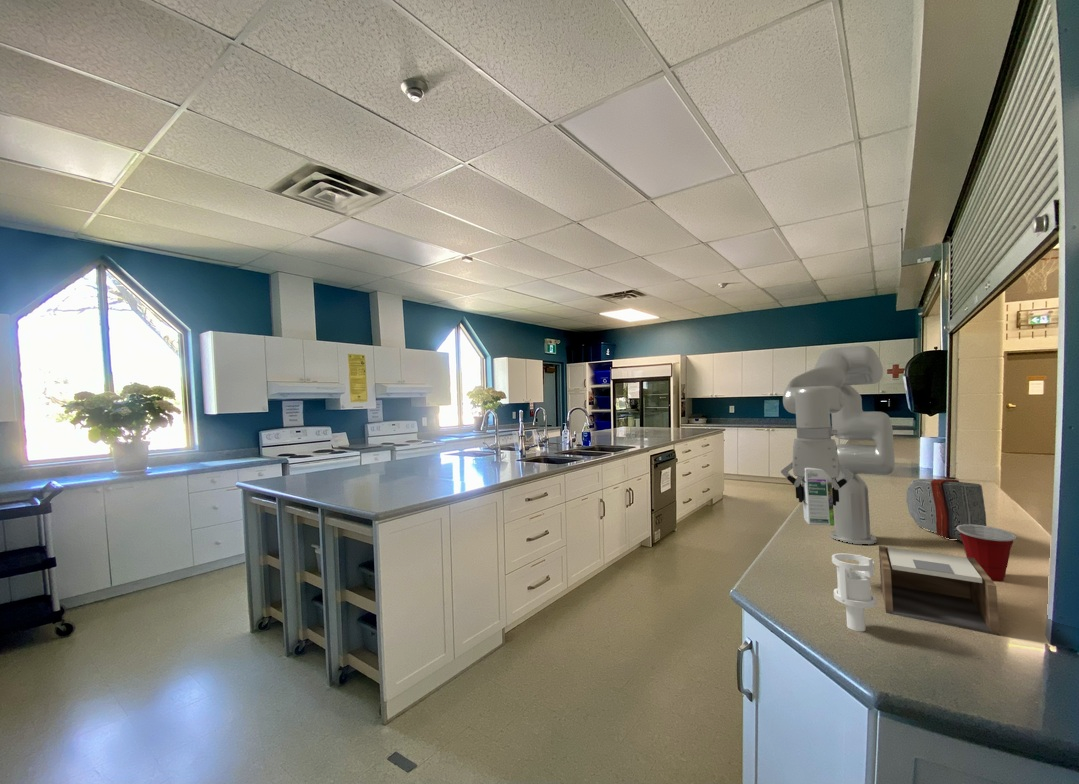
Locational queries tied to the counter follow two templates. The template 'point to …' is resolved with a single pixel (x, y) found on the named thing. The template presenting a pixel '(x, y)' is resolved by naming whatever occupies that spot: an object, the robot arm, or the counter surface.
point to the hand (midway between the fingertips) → (817, 502)
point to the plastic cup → (988, 548)
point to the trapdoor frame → (940, 597)
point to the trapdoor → (933, 564)
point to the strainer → (854, 588)
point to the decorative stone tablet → (945, 505)
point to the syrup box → (817, 497)
